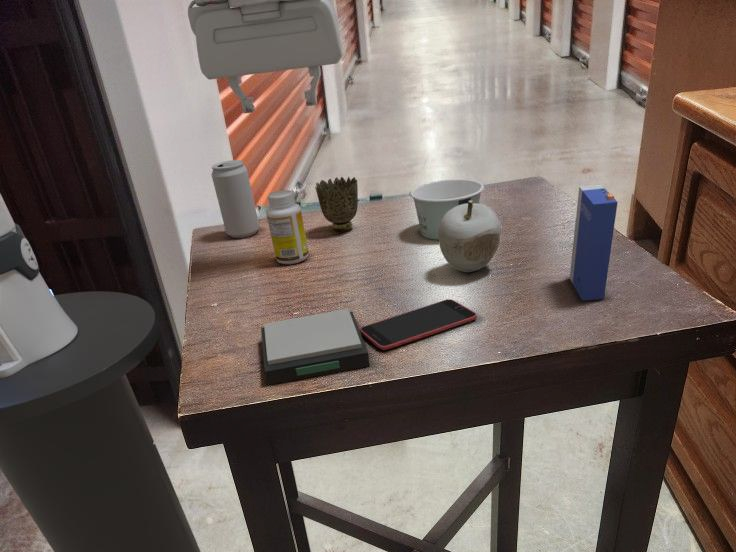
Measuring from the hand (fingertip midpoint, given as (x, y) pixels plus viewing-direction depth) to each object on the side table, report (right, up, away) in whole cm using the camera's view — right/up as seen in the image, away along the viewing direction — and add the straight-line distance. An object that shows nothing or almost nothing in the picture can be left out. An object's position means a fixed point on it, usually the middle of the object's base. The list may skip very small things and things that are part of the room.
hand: (280, 108), depth 90 cm
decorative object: (+28, -24, 0) cm, 37 cm away
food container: (+27, -12, +15) cm, 32 cm away
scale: (+6, -39, -14) cm, 43 cm away
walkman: (+42, -30, -9) cm, 52 cm away
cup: (+8, -9, +21) cm, 24 cm away
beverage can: (-11, -7, +26) cm, 29 cm away
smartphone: (+20, -36, -12) cm, 42 cm away
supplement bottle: (0, -18, +12) cm, 21 cm away
